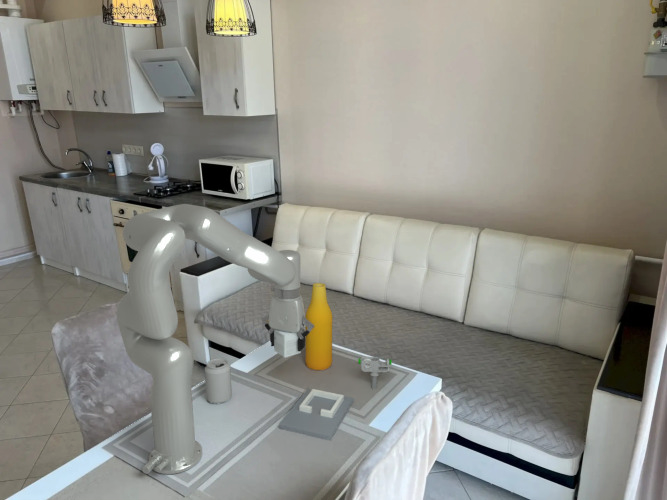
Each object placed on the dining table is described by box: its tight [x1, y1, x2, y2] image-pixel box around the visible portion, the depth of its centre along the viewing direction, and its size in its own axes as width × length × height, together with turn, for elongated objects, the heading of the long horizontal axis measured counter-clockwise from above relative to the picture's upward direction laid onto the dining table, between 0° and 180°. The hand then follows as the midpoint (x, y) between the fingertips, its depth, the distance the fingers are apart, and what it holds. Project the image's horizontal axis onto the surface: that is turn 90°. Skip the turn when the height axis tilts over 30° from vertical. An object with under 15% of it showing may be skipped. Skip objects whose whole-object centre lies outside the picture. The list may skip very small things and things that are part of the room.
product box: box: [273, 329, 302, 359], centre depth 147 cm, size 6×6×7 cm
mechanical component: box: [357, 356, 392, 390], centre depth 153 cm, size 3×10×10 cm, turn 89°
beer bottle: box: [305, 282, 333, 371], centre depth 165 cm, size 9×9×29 cm
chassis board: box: [278, 388, 355, 442], centre depth 140 cm, size 20×15×3 cm
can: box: [204, 357, 233, 405], centre depth 146 cm, size 8×8×12 cm
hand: (287, 346), depth 147 cm, fingers closed on product box, 8 cm apart
